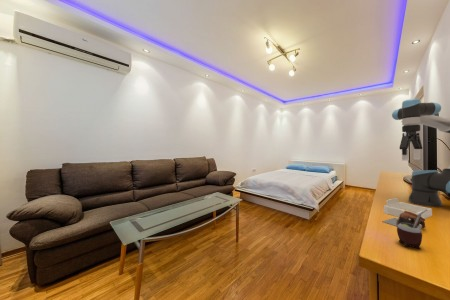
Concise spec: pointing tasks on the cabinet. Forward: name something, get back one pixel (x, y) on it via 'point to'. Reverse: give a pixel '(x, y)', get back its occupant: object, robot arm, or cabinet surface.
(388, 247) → the cabinet surface
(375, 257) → the cabinet surface
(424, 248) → the cabinet surface
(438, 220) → the cabinet surface
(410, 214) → the pottery mug
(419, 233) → the mate gourd
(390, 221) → the slate mat
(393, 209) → the carton
